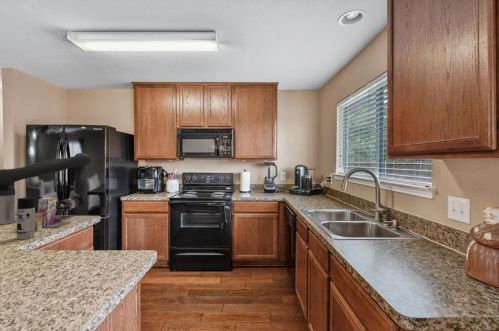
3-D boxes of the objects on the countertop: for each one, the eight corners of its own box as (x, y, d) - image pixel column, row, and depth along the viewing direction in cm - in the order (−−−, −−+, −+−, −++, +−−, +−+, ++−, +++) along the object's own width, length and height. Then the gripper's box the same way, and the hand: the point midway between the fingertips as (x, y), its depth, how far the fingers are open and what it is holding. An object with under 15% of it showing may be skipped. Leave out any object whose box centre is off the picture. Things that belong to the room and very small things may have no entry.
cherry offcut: (27, 222, 137) (27, 214, 137) (34, 220, 141) (34, 212, 141) (35, 222, 137) (35, 214, 137) (42, 220, 141) (42, 212, 141)
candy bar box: (47, 227, 144) (47, 199, 144) (37, 227, 142) (37, 199, 142) (56, 222, 154) (56, 196, 154) (46, 223, 153) (47, 196, 153)
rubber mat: (44, 228, 142) (44, 227, 142) (59, 222, 155) (59, 221, 155) (57, 227, 143) (57, 226, 143) (70, 222, 156) (70, 221, 156)
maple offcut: (27, 230, 136) (27, 222, 136) (32, 228, 141) (32, 220, 141) (37, 230, 137) (37, 222, 137) (41, 228, 142) (42, 220, 142)
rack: (17, 232, 133) (17, 224, 133) (45, 222, 155) (46, 215, 155) (35, 231, 134) (35, 224, 134) (61, 222, 157) (61, 215, 157)
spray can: (13, 239, 121) (13, 198, 121) (28, 235, 128) (28, 196, 128) (23, 240, 120) (23, 199, 120) (38, 236, 126) (38, 197, 126)
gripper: (54, 199, 166) (37, 203, 150) (77, 199, 168) (62, 203, 152) (54, 210, 166) (37, 215, 150) (77, 210, 168) (62, 215, 152)
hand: (50, 209), depth 151 cm, fingers open, 8 cm apart
